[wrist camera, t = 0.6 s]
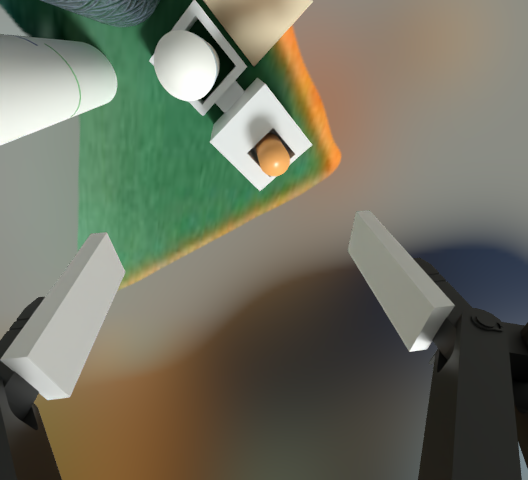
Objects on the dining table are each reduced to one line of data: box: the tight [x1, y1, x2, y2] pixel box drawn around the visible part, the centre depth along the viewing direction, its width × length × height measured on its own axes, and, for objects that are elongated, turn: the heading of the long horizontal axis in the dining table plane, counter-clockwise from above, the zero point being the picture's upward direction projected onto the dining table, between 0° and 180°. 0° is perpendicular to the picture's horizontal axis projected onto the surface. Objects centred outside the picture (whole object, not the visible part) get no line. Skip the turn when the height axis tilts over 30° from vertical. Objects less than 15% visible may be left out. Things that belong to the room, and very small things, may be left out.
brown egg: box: [255, 133, 290, 176], centre depth 33 cm, size 4×4×6 cm
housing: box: [149, 0, 312, 191], centre depth 34 cm, size 20×9×10 cm, turn 42°
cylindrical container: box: [0, 34, 117, 145], centre depth 24 cm, size 7×7×25 cm
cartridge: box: [154, 30, 220, 101], centre depth 28 cm, size 5×5×16 cm
